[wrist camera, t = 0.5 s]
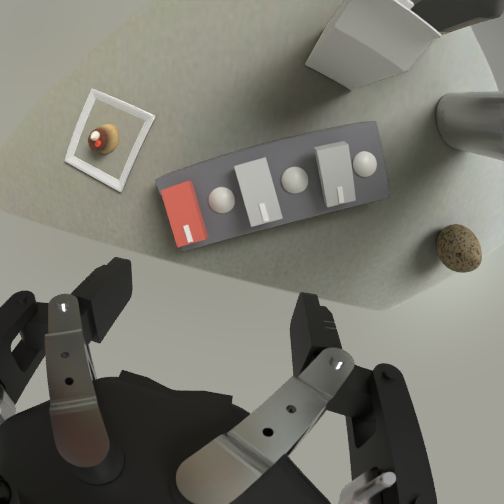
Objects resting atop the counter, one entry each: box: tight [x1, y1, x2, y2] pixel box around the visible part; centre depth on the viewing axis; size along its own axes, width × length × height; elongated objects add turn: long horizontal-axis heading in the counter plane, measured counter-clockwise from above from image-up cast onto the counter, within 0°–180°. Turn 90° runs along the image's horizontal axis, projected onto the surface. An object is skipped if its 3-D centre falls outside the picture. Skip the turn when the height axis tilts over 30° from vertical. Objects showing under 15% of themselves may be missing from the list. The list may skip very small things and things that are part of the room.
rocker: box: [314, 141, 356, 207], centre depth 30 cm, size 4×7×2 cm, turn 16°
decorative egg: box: [436, 224, 482, 272], centre depth 34 cm, size 7×7×10 cm
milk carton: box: [305, 0, 442, 90], centre depth 20 cm, size 7×7×19 cm
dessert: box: [64, 89, 155, 193], centre depth 32 cm, size 12×12×5 cm
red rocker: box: [161, 181, 208, 247], centre depth 32 cm, size 4×7×2 cm, turn 16°
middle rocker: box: [234, 157, 283, 227], centre depth 31 cm, size 4×7×2 cm, turn 16°
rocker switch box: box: [155, 121, 390, 252], centre depth 34 cm, size 28×10×4 cm, turn 106°
